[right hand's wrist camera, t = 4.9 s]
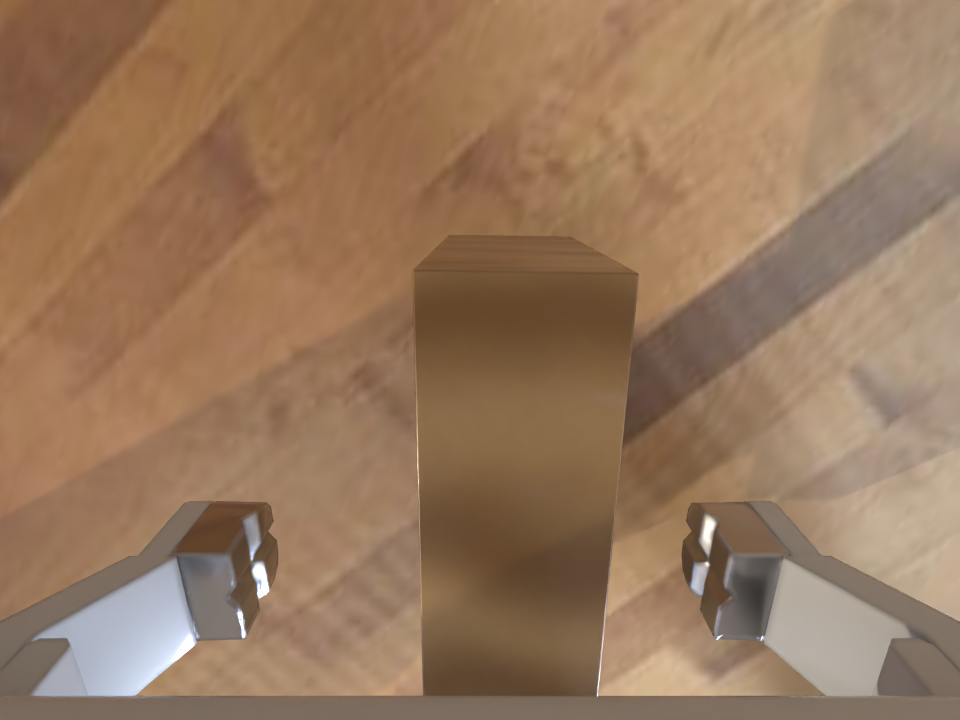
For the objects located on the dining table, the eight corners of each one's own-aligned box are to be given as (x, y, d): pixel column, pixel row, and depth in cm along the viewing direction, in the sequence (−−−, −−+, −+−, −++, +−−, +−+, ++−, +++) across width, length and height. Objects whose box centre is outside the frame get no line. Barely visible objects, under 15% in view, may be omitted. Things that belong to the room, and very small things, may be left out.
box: (448, 234, 25) (411, 269, 14) (571, 236, 25) (639, 273, 14) (450, 694, 33) (429, 959, 22) (543, 696, 33) (572, 964, 22)
